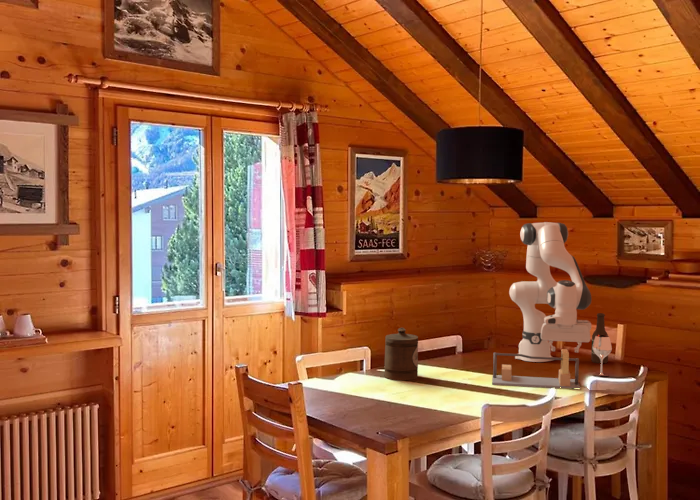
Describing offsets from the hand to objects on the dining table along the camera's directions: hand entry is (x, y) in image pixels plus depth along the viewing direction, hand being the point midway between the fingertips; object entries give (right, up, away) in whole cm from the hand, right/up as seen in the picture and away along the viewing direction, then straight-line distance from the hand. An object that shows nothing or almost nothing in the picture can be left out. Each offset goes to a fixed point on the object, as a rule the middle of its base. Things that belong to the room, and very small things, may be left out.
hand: (564, 351), depth 301 cm
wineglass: (+22, -14, +19) cm, 33 cm away
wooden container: (-68, -14, +16) cm, 72 cm away
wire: (-11, -3, +4) cm, 13 cm away
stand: (-11, -14, +5) cm, 19 cm away
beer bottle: (+31, -12, +47) cm, 58 cm away
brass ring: (0, -9, 0) cm, 9 cm away
